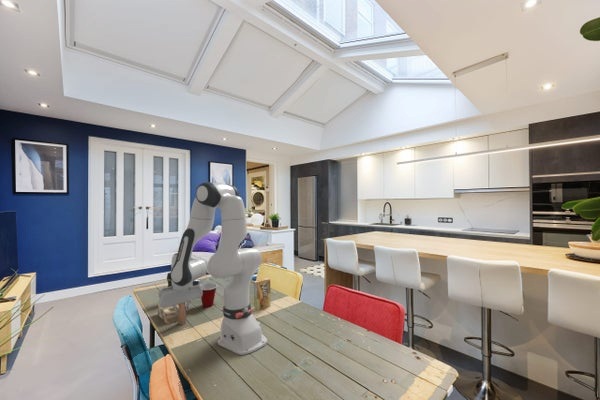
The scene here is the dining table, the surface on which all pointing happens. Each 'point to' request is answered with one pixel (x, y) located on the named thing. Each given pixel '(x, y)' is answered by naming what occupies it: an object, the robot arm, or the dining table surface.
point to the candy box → (261, 293)
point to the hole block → (169, 314)
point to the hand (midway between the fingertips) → (181, 311)
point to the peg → (181, 313)
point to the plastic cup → (208, 294)
